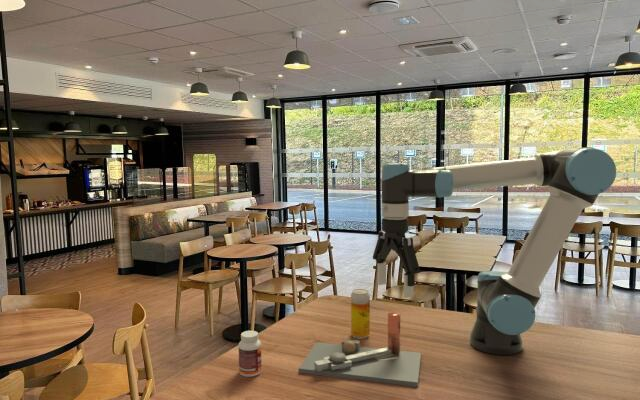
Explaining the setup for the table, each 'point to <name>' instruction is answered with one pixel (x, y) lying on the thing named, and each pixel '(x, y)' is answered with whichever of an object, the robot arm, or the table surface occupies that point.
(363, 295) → the beer can
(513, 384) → the table surface
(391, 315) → the lever
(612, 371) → the table surface
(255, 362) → the pill bottle
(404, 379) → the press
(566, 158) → the robot arm
